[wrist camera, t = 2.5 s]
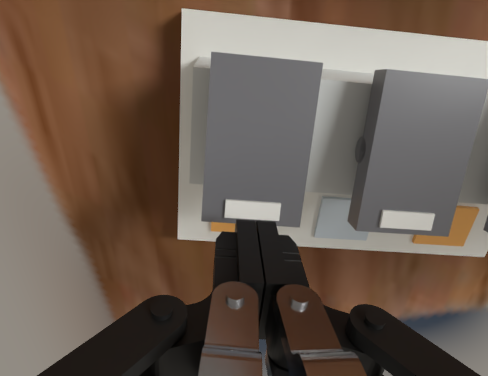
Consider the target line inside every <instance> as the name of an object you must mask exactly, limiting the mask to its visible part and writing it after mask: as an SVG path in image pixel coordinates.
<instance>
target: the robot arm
mask: <svg viewBox="0 0 488 376" xmlns="http://www.w3.org/2000/svg"><path fill="white" fill-rule="evenodd" d="M259 339H266V344H267V350H266V355H265V365H266V370H267V375H268V376H384V375H382V374H383V372H384V369H385V370H387V371H388V372H389V373H391V374H392V375H393V376H480V375H479V374H477V373H475V372H474V371H473V370H471V369H470V368H468V367H467V366H465V365H464V364H463V363H461V362H460V361H458V360H457V359H455V358H454V357H452V356H451V355H449V354H448V353H446V352H445V351H443V350H442V349H441V348H439V347H438V346H436V345H435V344H433V343H432V342H430V341H429V340H427V339H426V338H424V337H423V336H421V335H420V334H418V333H417V332H415V331H414V330H412V329H411V328H410V327H408V326H407V325H405V324H404V323H402V322H401V321H399V320H398V319H396V318H395V317H394V316H392V315H391V314H389V313H388V312H386V311H385V310H383V309H381V308H379V307H376V306H373V305H368V304H362V305H357V306H355V307H354V308H353V309H352V310H351V311H350V314H348V313H345V312H342V311H338V310H335V309H332V308H329V307H327V306H325V305H323V303H322V301H321V299H320V297H319V296H318V294H317V293H315V292H314V291H313V290H312V289H310V287H309V284H308V281H307V278H306V274H305V271H304V268H303V264H302V262H301V258H300V255H299V251H298V248H297V245H296V243H295V242H294V241H293V240H292V239H291V237H290V236H289V235H279V234H278V230H277V226H276V222H275V221H259V220H256V222H255V220H241V219H236V223H235V232H224V231H222V232H221V233H220V235H219V236H218V237H217V238H216V246H215V258H214V271H213V291H212V293H211V294H210V295H209V296H208V297H207V298H206V299H204V300H202V301H200V302H198V303H194V304H190V305H185V304H184V303H183V301H181V300H180V299H178V298H177V297H174V296H170V295H158V296H154V297H151V298H149V299H147V300H145V301H144V302H142V303H141V304H139V305H138V306H137V307H135V308H134V309H132V310H131V311H129V312H128V313H126V314H125V315H124V316H122V317H121V318H119V319H118V320H116V321H115V322H114V323H112V324H111V325H109V326H108V327H106V328H105V329H103V330H102V331H101V332H99V333H98V334H96V335H95V336H94V337H92V338H91V339H89V340H88V341H86V342H85V343H83V344H82V345H80V346H79V347H78V348H76V349H75V350H73V351H72V352H70V353H69V354H68V355H66V356H65V357H63V358H62V359H61V360H59V361H57V362H56V363H55V364H53V365H52V366H50V367H49V368H48V369H46V370H45V371H43V372H42V373H40V374H39V375H37V376H262V354H261V352H259Z"/></svg>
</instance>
